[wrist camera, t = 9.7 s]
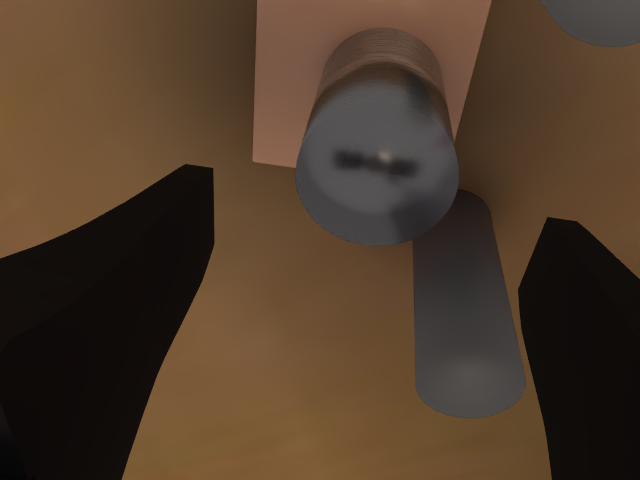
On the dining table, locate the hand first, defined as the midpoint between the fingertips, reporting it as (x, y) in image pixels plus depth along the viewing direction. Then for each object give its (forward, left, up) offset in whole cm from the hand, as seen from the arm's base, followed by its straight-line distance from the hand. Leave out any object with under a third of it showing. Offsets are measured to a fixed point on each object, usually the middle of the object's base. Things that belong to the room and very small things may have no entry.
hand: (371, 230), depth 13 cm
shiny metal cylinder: (0, 0, -8) cm, 8 cm away
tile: (0, +1, -9) cm, 9 cm away
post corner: (-5, -4, -9) cm, 11 cm away
